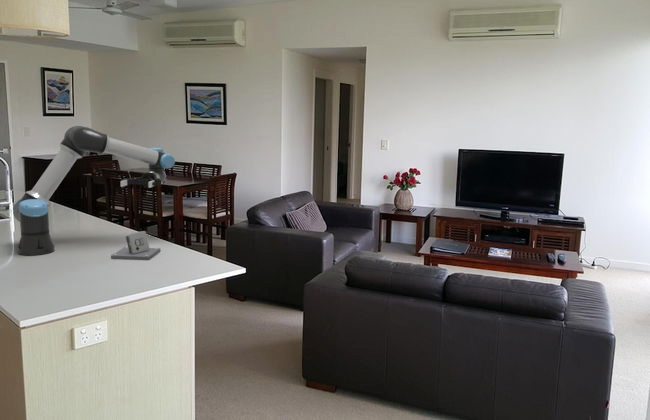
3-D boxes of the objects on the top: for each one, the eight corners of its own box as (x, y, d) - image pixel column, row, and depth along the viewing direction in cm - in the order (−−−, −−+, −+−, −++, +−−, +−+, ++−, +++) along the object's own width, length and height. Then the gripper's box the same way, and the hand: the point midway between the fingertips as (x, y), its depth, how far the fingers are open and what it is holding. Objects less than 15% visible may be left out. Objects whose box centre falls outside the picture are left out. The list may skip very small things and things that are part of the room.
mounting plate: (111, 258, 248) (110, 254, 247) (124, 250, 263) (124, 246, 263) (148, 260, 247) (148, 256, 247) (160, 251, 263) (160, 247, 263)
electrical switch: (133, 254, 250) (131, 234, 249) (125, 254, 253) (123, 233, 252) (150, 250, 258) (148, 230, 257) (142, 250, 261) (140, 230, 259)
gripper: (174, 187, 290) (161, 192, 269) (126, 185, 291) (110, 191, 270) (173, 172, 289) (160, 177, 268) (126, 171, 289) (109, 175, 268)
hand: (135, 184), depth 269 cm, fingers open, 13 cm apart
